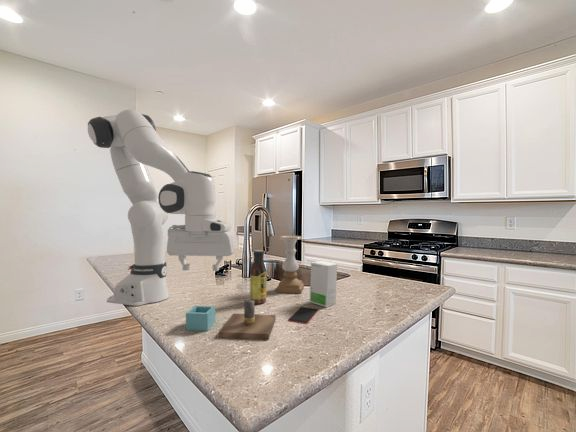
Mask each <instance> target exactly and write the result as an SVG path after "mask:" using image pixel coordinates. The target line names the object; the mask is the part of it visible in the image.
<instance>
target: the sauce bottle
mask: <svg viewBox="0 0 576 432" xmlns="http://www.w3.org/2000/svg"><path fill="white" fill-rule="evenodd" d="M264 254H265V251H264V250H263V249H257V250H253V262H252V263H253V264H252V265H251V266H250V277H249V278H250V283H249V285H250V286H249V287H250V290H249V293H250V294H249V295H250V296H249V297H250V300H254V305H260V304H264V303H266V302H267V284H268V283H267V280H268V279H267V273H268V272H267V269H266V265H265V262H264Z"/></svg>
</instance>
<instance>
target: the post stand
mask: <svg viewBox="0 0 576 432" xmlns="http://www.w3.org/2000/svg"><path fill="white" fill-rule="evenodd" d="M243 305H244V307H243V309H244V311H243V313H232V315H231V316H230V317H229V318H228V319H227V321H226V322H225V323H224V324H223V326H222V327H221V329H220V330H219V331H218V338H225V339H226V338H228V339H229V338H231V339H248V340H249V339H251V340H269V339H270V336H271V333H272V331H273V328H274V325H275V322H276V320H277V319H276V314H257V313H256V314H255V304H254V300H251V299H247V300H246V299H245V300H244V303H243Z"/></svg>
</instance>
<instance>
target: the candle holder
mask: <svg viewBox="0 0 576 432" xmlns="http://www.w3.org/2000/svg"><path fill="white" fill-rule="evenodd" d="M278 238H279V239H280V240H283V241H284V243H285V244H286V245H285V246H286V248H285V249H284V252H285V254H286V258H285V259H284V261H283V263H282V266H281V267H282V270H284V272H283V276H284V278H283V279H281V280H280V282H278V285H277V286H276V289H275V290H276V293H280V294H284V293H285V294H298V295H299V294H302V292H303V291H304V288H305V287H304V286H305V283H304V282H303V279H302V280H301V279H298V278H297V276H298V273H297V270H299V268H300V266H299V262H298V261H297V259H296V257H295V254H296V252H297V249H296V246H295V245H296V243H297V241H298V240H302V239H303V236H301V235H280V236H279V237H278Z"/></svg>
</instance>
